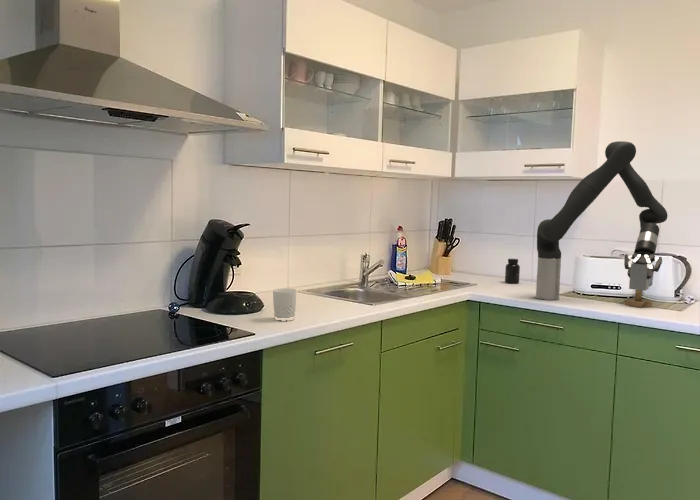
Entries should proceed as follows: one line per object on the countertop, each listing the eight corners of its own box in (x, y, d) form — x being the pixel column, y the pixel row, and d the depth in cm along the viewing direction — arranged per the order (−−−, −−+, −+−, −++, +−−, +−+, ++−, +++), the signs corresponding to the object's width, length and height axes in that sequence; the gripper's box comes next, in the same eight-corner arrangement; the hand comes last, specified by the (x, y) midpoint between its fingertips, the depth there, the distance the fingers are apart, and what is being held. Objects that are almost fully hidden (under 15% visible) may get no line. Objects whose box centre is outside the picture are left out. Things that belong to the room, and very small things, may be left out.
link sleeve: (629, 288, 233) (630, 263, 232) (632, 286, 238) (633, 262, 237) (645, 290, 229) (647, 265, 228) (648, 288, 234) (650, 263, 233)
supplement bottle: (519, 284, 287) (520, 259, 285) (505, 283, 288) (506, 259, 287) (518, 282, 293) (519, 258, 292) (504, 281, 295) (505, 257, 294)
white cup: (280, 323, 194) (280, 293, 193) (268, 318, 201) (268, 289, 200) (300, 320, 199) (300, 291, 198) (288, 316, 205) (289, 287, 204)
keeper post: (640, 308, 229) (642, 283, 228) (624, 305, 235) (625, 280, 234) (651, 306, 233) (653, 282, 232) (635, 303, 239) (636, 279, 238)
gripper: (626, 238, 242) (618, 269, 233) (665, 240, 233) (658, 273, 225) (628, 250, 247) (620, 281, 238) (666, 252, 238) (659, 285, 230)
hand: (638, 277), depth 232 cm, fingers closed on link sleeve, 6 cm apart
